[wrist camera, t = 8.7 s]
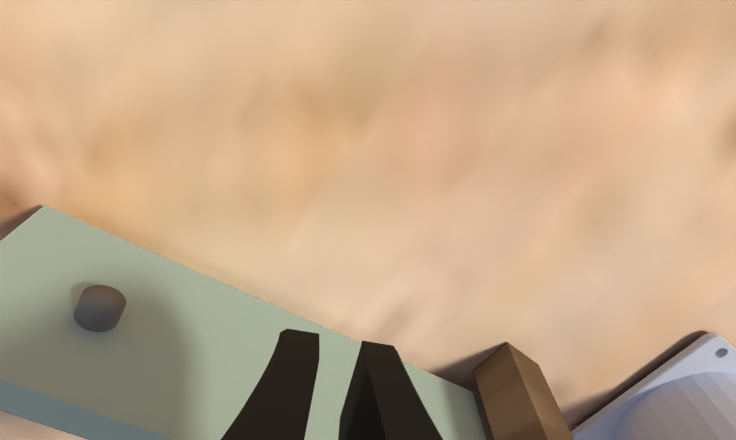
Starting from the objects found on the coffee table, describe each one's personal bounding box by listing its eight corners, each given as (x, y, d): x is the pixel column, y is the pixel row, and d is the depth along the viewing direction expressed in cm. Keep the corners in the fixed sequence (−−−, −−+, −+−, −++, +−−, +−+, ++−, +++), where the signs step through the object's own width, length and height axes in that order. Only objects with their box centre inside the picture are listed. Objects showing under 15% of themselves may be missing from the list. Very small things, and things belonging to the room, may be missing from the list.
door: (503, 390, 22) (563, 557, 16) (470, 425, 23) (515, 597, 17) (50, 188, 18) (-114, 315, 11) (31, 242, 18) (-131, 388, 12)
